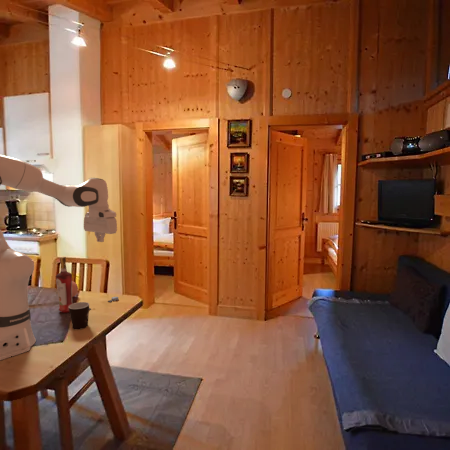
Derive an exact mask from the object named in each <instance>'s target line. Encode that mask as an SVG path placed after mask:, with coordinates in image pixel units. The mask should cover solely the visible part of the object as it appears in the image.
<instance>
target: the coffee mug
mask: <svg viewBox="0 0 450 450" xmlns="http://www.w3.org/2000/svg"><path fill="white" fill-rule="evenodd" d="M89 308H90V303H89V302H86V301H80V302H74V303H72V304H71V305H70V306H69V312H68V313H69V318H70V321H71V326H72V329H73V330H77V331H78V330H83V329H86V328H87V327H88V326H89V314H90V313H89V312H90V310H89Z"/></svg>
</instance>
